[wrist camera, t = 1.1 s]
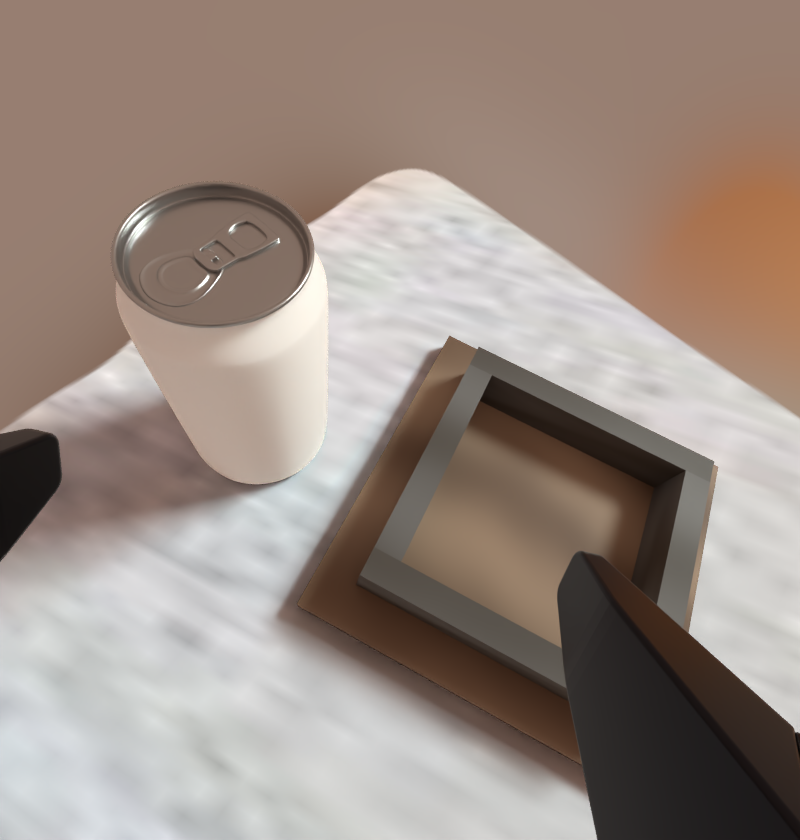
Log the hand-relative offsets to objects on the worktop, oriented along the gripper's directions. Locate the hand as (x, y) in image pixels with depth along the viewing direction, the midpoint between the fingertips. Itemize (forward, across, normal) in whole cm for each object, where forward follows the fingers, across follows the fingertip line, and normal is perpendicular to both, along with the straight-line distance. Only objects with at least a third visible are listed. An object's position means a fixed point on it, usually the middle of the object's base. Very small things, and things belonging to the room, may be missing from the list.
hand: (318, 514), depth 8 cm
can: (+15, +5, +7) cm, 17 cm away
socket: (+13, -9, +8) cm, 18 cm away
